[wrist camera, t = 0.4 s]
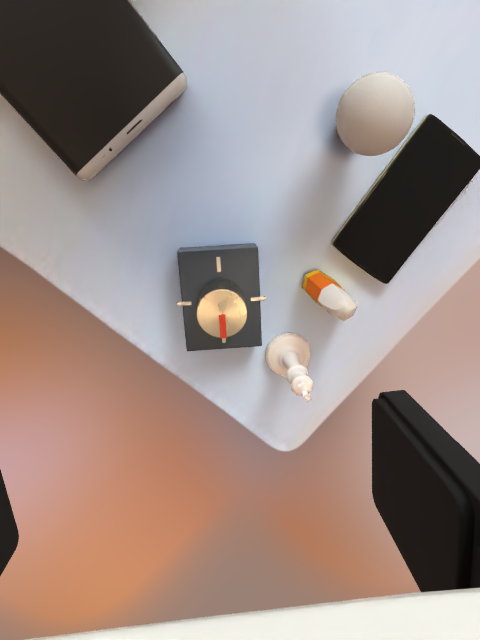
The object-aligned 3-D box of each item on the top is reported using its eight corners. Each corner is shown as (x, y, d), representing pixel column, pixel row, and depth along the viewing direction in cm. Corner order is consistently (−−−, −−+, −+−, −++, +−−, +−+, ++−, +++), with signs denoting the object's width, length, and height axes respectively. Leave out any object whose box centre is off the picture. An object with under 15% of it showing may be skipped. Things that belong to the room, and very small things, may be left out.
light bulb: (313, 160, 40) (344, 150, 31) (319, 91, 38) (354, 59, 29) (373, 163, 41) (422, 154, 31) (382, 95, 39) (436, 64, 29)
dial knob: (196, 280, 40) (194, 291, 35) (242, 277, 40) (246, 288, 36) (200, 324, 41) (198, 340, 37) (244, 321, 41) (248, 337, 37)
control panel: (174, 248, 42) (171, 252, 39) (259, 243, 42) (263, 246, 39) (184, 341, 45) (181, 352, 42) (263, 336, 45) (266, 346, 42)
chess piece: (297, 324, 45) (319, 360, 36) (317, 361, 46) (343, 405, 37) (257, 346, 46) (268, 387, 36) (278, 382, 47) (294, 430, 37)
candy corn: (293, 283, 44) (310, 303, 36) (312, 261, 43) (333, 276, 36) (335, 317, 45) (359, 342, 37) (353, 295, 44) (382, 317, 37)
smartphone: (331, 245, 41) (432, 110, 38) (328, 244, 43) (426, 112, 39) (386, 286, 43) (488, 160, 40) (382, 284, 44) (480, 161, 41)
